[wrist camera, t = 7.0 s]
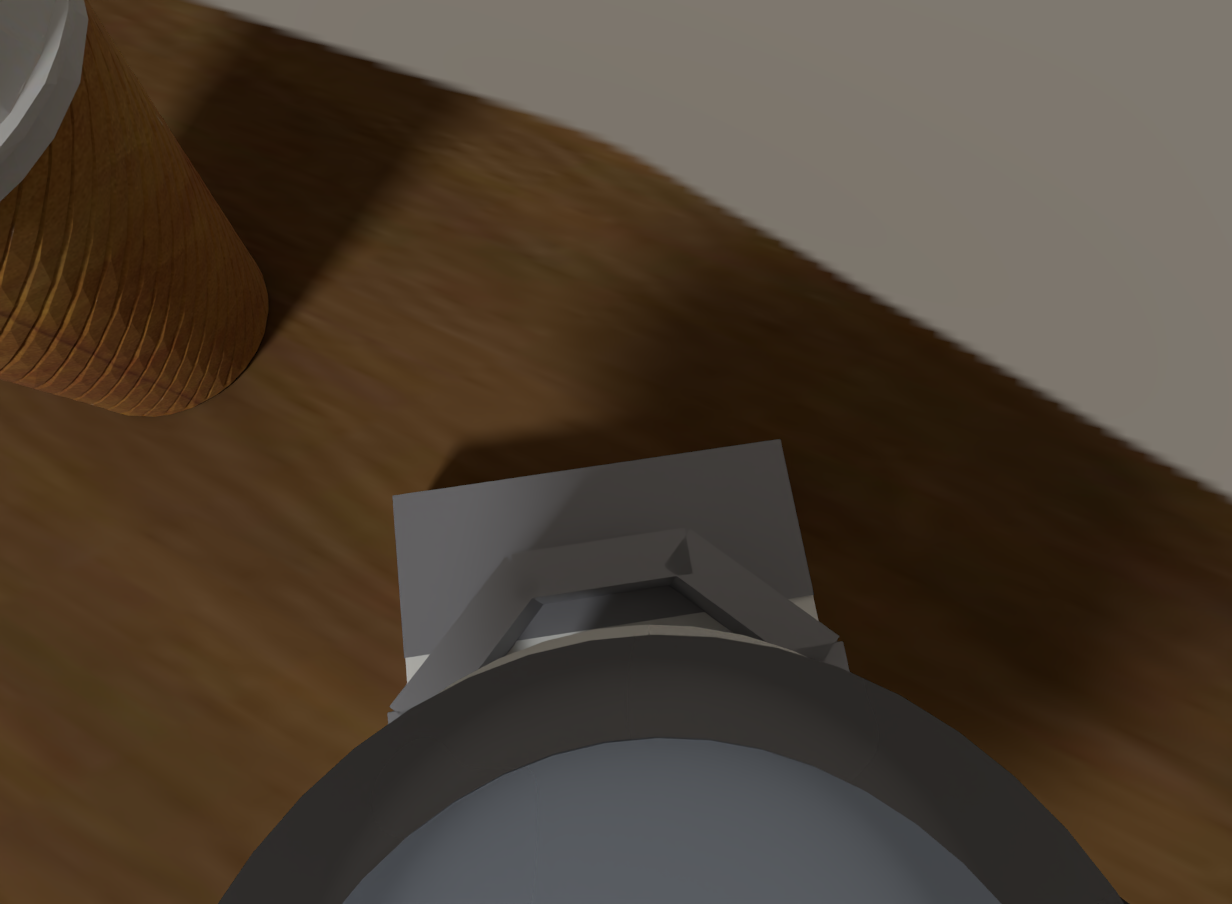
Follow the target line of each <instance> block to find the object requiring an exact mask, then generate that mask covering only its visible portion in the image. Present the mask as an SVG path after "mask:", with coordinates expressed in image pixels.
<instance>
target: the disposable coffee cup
mask: <svg viewBox="0 0 1232 904" xmlns="http://www.w3.org/2000/svg"><path fill="white" fill-rule="evenodd" d="M267 316H268V293H267V289H266V285H265V282H264V278H263V275H262V273H261V271H260V269H259V267H258V266H257V264H256V262H255V260H254V259H253V258H252V256H251V255H250V253H249V252H248V250H247V248H246V247H245V245H244V244H243V242H242V241H241V239H240V238H239V236H238V234H237V233H236V232H235V230H234V228H233V227H232V225H231V224H230V222H229V220H228V219H227V218H226V216H225V214H224V213H223V211H222V210H221V208H220V206H219V205H218V203H217V202H216V201H215V199H214V197H213V196H212V194H211V192H210V191H209V189H208V188H207V186H206V185H205V183H204V181H203V180H202V178H201V176H200V175H199V173H198V172H197V171H196V169H195V168H194V166H193V165H192V163H191V161H190V160H189V158H188V157H187V155H186V154H185V152H184V151H183V149H182V148H181V146H180V144H179V143H178V141H177V140H176V138H175V137H174V135H173V134H172V132H171V131H170V129H169V127H168V126H167V124H166V122H165V121H164V119H163V118H162V116H161V115H160V114H159V112H158V110H157V109H156V107H155V106H154V104H153V103H152V101H151V99H150V98H149V96H148V95H147V93H146V91H145V90H144V88H143V87H142V85H141V84H140V82H139V80H138V79H137V77H136V76H135V74H134V73H133V72H132V70H131V69H130V67H129V65H128V64H127V62H126V61H125V59H124V57H123V56H122V54H121V52H120V51H119V50H118V48H117V47H116V45H115V44H114V42H113V40H112V39H111V37H110V36H109V34H108V32H107V31H106V29H105V28H104V26H103V25H102V23H101V22H100V20H99V19H98V17H97V15H96V14H95V12H94V11H93V9H92V8H91V6H90V4H89V3H88V1H87V0H0V379H1V380H5V381H10V382H13V383H16V384H19V385H23V386H27V387H31V388H34V389H37V390H41V391H45V392H49V393H52V394H54V395H58V396H62V397H66V398H70V399H73V400H77V401H80V402H84V403H88V404H90V405H94V406H97V407H101V408H105V409H107V410H109V411H113V412H117V413H121V414H124V415H128V416H151V417H155V416H162V415H170V414H174V413H177V412H181V411H184V410H187V409H190V408H193V407H195V406H197V405H199V404H201V403H202V402H204V401H206V400H208V399H210V398H212V397H214V396H215V395H217V394H218V393H220V392H221V391H222V390H224V389H225V388H226V387H228V386H229V385H230V384H231V383H232V382H233V381H234V380H235V379H236V378H237V377H238V376H239V375H240V374H241V373H242V372H243V371H244V370H245V368H246V367H247V365H248V364H249V362H250V361H251V359H252V358H253V356H254V355H255V353H256V352H257V350H258V347H259V345H260V342H261V340H262V338H263V335H264V333H265V328H266V322H267Z"/></svg>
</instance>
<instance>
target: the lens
mask: <svg viewBox="0 0 1232 904" xmlns="http://www.w3.org/2000/svg"><path fill="white" fill-rule="evenodd" d="M218 904H1124V903H1123V901H1122V900H1121V898H1120V897H1119V895H1118V893H1117V892H1116V891H1115V889H1114V888H1113V887H1112V886H1111V884H1110V883H1109V882H1108V880H1107V879H1106V878H1105V877H1104V875H1103V874H1102V873H1101V872H1100V870H1099V869H1098V868H1097V867H1096V865H1095V864H1094V863H1093V862H1092V860H1091V859H1090V858H1089V856H1088V855H1087V854H1086V853H1085V851H1084V850H1083V849H1082V848H1081V846H1080V845H1079V844H1078V843H1077V841H1076V840H1075V839H1074V838H1073V836H1072V835H1071V834H1070V833H1069V831H1068V830H1067V829H1066V828H1065V827H1064V826H1063V825H1062V824H1061V823H1060V822H1059V821H1058V820H1057V819H1056V818H1055V817H1054V816H1053V815H1052V814H1051V813H1050V812H1049V811H1048V810H1047V809H1046V808H1045V807H1044V806H1043V805H1042V804H1041V803H1040V802H1039V801H1038V800H1037V799H1036V798H1035V797H1034V796H1033V795H1032V794H1031V793H1030V792H1029V791H1028V790H1027V789H1026V788H1025V787H1024V786H1023V785H1022V784H1021V783H1020V782H1019V781H1018V780H1017V779H1016V778H1015V777H1014V776H1013V775H1012V774H1011V773H1009V772H1008V771H1007V770H1006V769H1004V768H1003V767H1002V766H1001V765H999V764H998V763H997V762H996V761H994V760H993V759H992V758H991V757H989V756H988V755H987V754H986V753H984V752H983V751H982V750H981V749H979V748H978V747H977V746H976V745H974V744H973V743H972V742H971V741H969V740H968V739H967V738H966V737H965V736H963V735H962V734H961V733H960V732H958V731H957V730H955V729H953V728H952V727H950V726H949V725H947V724H945V723H944V722H942V721H940V720H939V719H937V718H936V717H934V716H932V715H931V714H929V713H928V712H926V711H924V710H923V709H921V708H920V707H918V706H916V705H915V704H913V703H912V702H910V701H908V700H907V699H905V698H903V697H902V696H900V695H898V694H896V693H894V692H892V691H890V690H887V689H885V688H883V687H881V686H879V685H877V684H874V683H872V682H870V681H868V680H866V679H864V678H861V677H859V676H857V675H855V674H853V673H851V672H848V671H846V670H844V669H842V668H840V667H837V666H833V665H830V664H827V663H824V662H821V661H818V660H814V659H811V658H808V657H806V656H804V655H801V654H799V653H797V652H795V651H793V650H790V649H786V648H783V647H780V646H777V645H774V644H770V643H767V642H764V641H761V640H758V639H755V638H751V637H748V636H745V635H740V634H734V633H729V632H723V631H717V630H711V629H706V628H700V627H693V626H668V625H635V626H624V627H614V628H603V629H594V630H590V631H586V632H581V633H577V634H573V635H568V636H564V637H560V638H555V639H551V640H547V641H544V642H541V643H539V644H536V645H533V646H531V647H528V648H525V649H523V650H520V651H517V652H515V653H512V654H510V655H507V656H504V657H502V658H499V659H497V660H495V661H493V662H491V663H489V664H488V665H486V666H484V667H482V668H480V669H478V670H476V671H475V672H473V673H471V674H469V675H467V676H465V677H463V678H461V679H460V680H458V681H456V682H454V683H452V684H451V685H449V686H448V687H447V688H445V689H444V690H442V691H441V692H440V693H438V694H437V695H435V696H433V697H431V698H429V699H427V700H426V701H424V702H422V703H420V704H418V705H416V706H414V707H413V708H411V709H409V710H408V711H406V712H405V713H404V714H402V715H401V716H399V717H398V718H396V719H395V720H394V721H392V722H391V723H389V724H388V725H387V726H385V727H384V728H382V729H381V730H380V731H378V732H377V733H375V734H374V735H373V736H371V737H370V738H368V739H367V740H366V741H364V742H363V743H361V744H360V745H358V746H357V747H356V748H354V749H353V750H352V751H351V752H350V753H349V754H348V755H347V756H346V757H344V758H343V759H342V760H341V761H340V762H339V763H338V764H337V765H336V766H335V767H333V768H332V769H331V770H330V771H329V772H328V773H327V774H326V775H325V776H324V777H322V778H321V779H320V780H319V781H318V782H317V783H316V784H315V785H314V786H313V787H312V788H310V789H309V790H308V791H307V792H306V793H305V794H304V795H303V796H302V797H301V798H300V799H299V800H298V801H297V802H296V804H295V805H294V806H293V807H292V808H291V809H290V811H289V812H288V813H287V814H286V815H285V816H284V817H283V819H282V820H281V821H280V822H279V823H278V824H277V826H276V827H275V828H274V829H273V830H272V831H271V832H270V834H269V835H268V836H267V837H266V838H265V839H264V841H263V842H262V843H261V844H260V845H259V846H258V847H257V849H256V850H255V851H254V852H253V853H252V855H251V856H250V858H249V859H248V861H247V862H246V864H245V865H244V867H243V868H242V869H241V871H240V872H239V874H238V875H237V877H236V878H235V880H234V881H233V883H232V884H231V885H230V887H229V888H228V890H227V891H226V893H225V894H224V896H223V897H222V899H221V900H220V901H219V903H218Z"/></svg>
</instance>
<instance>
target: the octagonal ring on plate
mask: <svg viewBox="0 0 1232 904" xmlns="http://www.w3.org/2000/svg"><path fill="white" fill-rule="evenodd" d="M393 509H394V523H395V537H396V550H397V564H398V578H399V591H400V605H401V619H402V632H403V646H404V658H406V671H407V685H406V686H405V687H404V688H403V690H402V691H401V692H400V694H399V695H398V696H397V698H396V699H395V700H394V701H393V703H392V704H391V705H390V707H391V708H392V709H393V710H394V711H392V712H389V713H388V724H389V723H391V722H392V721H394V720H395V719H396V718H398V717H399V716H401V715H402V714H404V713H405V712H406V711H408V710H409V709H411V708H413V707H414V706H416V705H418V704H420V703H422V702H424V701H426V700H427V699H429V698H431V697H433V696H435V695H437V694H438V693H440V692H441V691H442V690H444V689H445V688H447V687H448V686H449V685H451V684H452V683H454V682H456V681H458V680H460V679H461V678H463V677H465V676H467V675H469V674H471V673H473V672H475V671H476V670H478V669H480V668H482V667H484V666H486V665H488V664H489V663H491V662H493V661H495V660H497V659H499V658H502V657H504V656H507V655H510V654H512V653H515V652H517V651H520V650H523V649H525V648H528V647H531V646H533V645H536V644H539V643H541V642H544V641H547V640H551V639H555V638H560V637H564V636H568V635H573V634H577V633H581V632H586V631H590V630H594V629H603V628H614V627H624V626H635V625H668V626H693V627H700V628H706V629H711V630H717V631H723V632H729V633H734V634H740V635H745V636H748V637H751V638H755V639H758V640H761V641H764V642H767V643H770V644H774V645H777V646H780V647H783V648H786V649H790V650H793V651H795V652H797V653H799V654H801V655H804V656H806V657H808V658H811V659H814V660H818V661H821V662H824V663H827V664H830V665H833V666H837V667H840V668H842V669H844V670H846V671H848V672H850V671H849V666H848V662H847V657H846V653H845V648H844V644H843V641H842V642H836V641H837V639H838V638H839V636H838V635H837V634H836V633H834V632H833V631H832V630H830V629H829V628H827V627H826V626H825V625H823V624H822V623H820V622H819V621H818V616H817V612H816V607H815V602H814V598H813V595H814V593H813V588H812V583H811V579H810V574H809V569H808V565H807V560H806V556H805V551H804V546H803V542H802V537H801V532H800V528H799V523H798V519H797V514H796V509H795V505H794V500H793V495H792V491H791V486H790V482H789V477H788V472H787V468H786V463H785V458H784V454H783V449H782V444H781V440H780V439H776V440H770V441H763V442H756V443H749V444H742V445H735V446H729V447H722V448H715V449H708V450H701V451H695V452H688V453H681V454H674V455H667V456H660V457H654V458H647V459H640V460H633V461H626V462H619V463H613V464H606V465H599V466H592V467H585V468H579V469H572V470H565V471H558V472H551V473H544V474H538V475H531V476H524V477H517V478H510V479H503V480H497V481H490V482H483V483H476V484H469V485H463V486H456V487H449V488H442V489H435V490H428V491H422V492H415V493H408V494H401V495H394V496H393Z"/></svg>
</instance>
